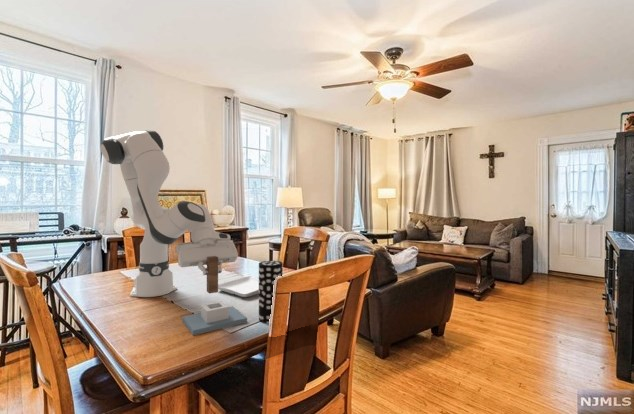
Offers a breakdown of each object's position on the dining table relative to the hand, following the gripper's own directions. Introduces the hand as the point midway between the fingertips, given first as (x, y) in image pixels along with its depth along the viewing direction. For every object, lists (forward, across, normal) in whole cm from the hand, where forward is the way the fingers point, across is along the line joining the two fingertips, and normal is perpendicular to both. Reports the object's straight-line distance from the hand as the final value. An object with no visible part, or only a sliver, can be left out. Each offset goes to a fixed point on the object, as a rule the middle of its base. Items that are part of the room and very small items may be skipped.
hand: (212, 273), depth 106 cm
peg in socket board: (+12, +1, +13) cm, 17 cm away
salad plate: (-8, +25, +33) cm, 42 cm away
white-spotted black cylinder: (+18, +18, +7) cm, 26 cm away
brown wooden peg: (+4, 0, +5) cm, 7 cm away
